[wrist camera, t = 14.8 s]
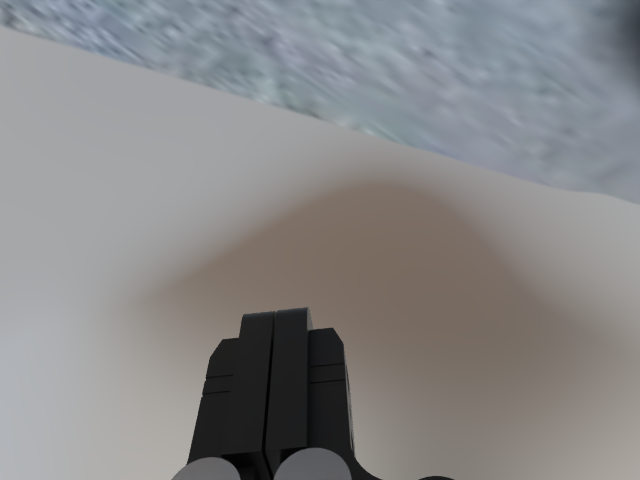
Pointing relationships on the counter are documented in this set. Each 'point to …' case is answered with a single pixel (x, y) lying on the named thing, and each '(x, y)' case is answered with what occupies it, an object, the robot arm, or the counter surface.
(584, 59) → the counter surface
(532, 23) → the counter surface
